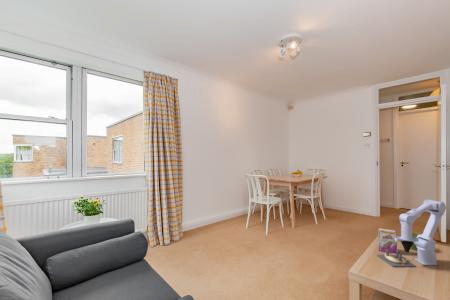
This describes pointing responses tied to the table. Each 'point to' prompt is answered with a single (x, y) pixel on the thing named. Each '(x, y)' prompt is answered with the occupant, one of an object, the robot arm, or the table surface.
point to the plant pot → (413, 241)
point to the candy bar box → (387, 240)
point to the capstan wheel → (395, 257)
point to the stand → (396, 263)
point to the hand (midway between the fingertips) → (406, 251)
